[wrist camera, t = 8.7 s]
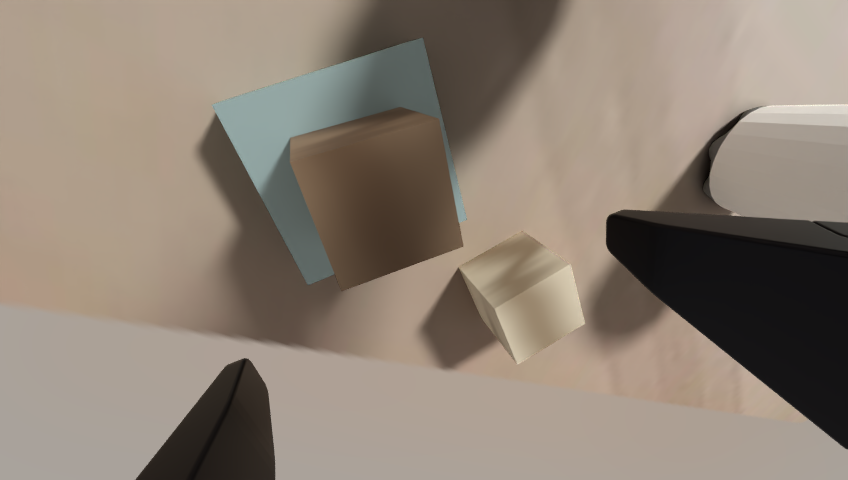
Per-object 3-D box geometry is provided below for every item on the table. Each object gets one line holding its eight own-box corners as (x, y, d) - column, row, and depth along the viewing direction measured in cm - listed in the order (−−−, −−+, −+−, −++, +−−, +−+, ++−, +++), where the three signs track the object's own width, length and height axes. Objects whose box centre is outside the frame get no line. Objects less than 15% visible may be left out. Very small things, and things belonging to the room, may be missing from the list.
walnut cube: (400, 106, 17) (439, 118, 12) (424, 206, 19) (463, 246, 15) (290, 137, 16) (290, 162, 11) (329, 238, 18) (341, 291, 14)
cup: (669, 159, 26) (939, 222, 15) (774, 56, 26) (1137, 45, 15) (705, 239, 31) (929, 330, 20) (794, 155, 31) (1077, 202, 20)
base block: (404, 42, 18) (422, 37, 16) (446, 202, 23) (466, 219, 20) (223, 100, 17) (211, 104, 14) (305, 259, 21) (308, 285, 19)
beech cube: (521, 230, 25) (570, 263, 21) (538, 283, 27) (585, 323, 23) (458, 266, 24) (494, 308, 20) (480, 317, 27) (517, 364, 23)
